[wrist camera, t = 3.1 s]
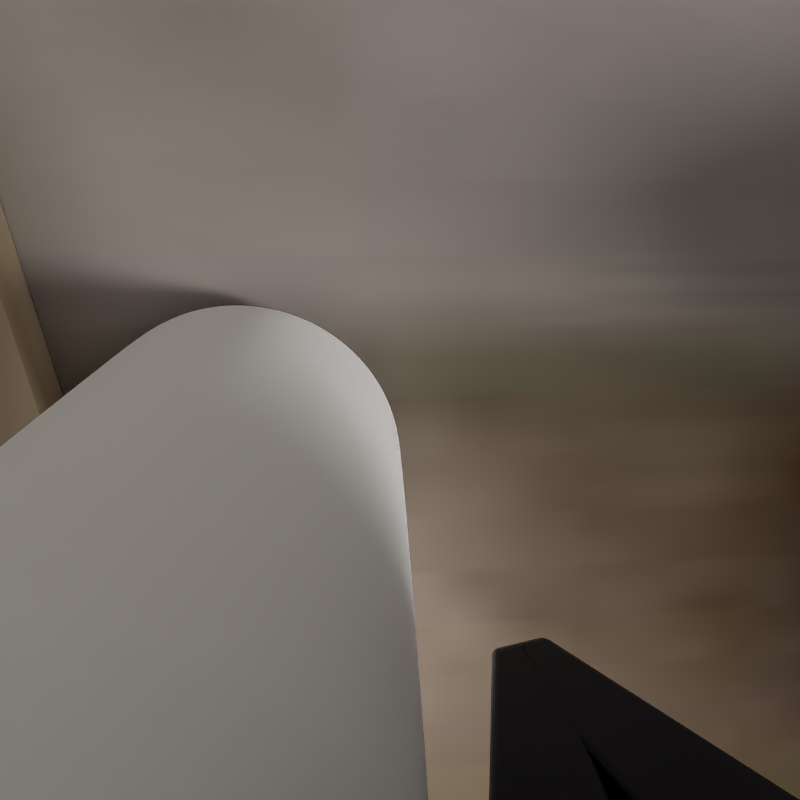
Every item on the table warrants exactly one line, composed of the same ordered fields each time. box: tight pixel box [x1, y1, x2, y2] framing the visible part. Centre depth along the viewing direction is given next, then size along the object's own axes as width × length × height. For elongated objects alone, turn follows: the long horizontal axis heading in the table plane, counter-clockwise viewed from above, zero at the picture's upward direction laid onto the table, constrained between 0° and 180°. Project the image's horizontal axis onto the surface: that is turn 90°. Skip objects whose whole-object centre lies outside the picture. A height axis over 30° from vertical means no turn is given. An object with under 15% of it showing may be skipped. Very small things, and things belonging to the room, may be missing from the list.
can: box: [0, 305, 428, 800], centre depth 10 cm, size 6×6×12 cm
